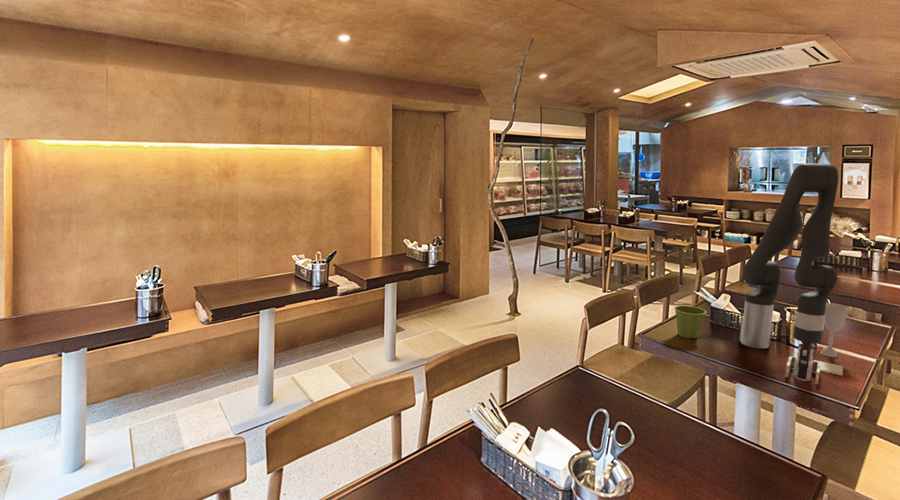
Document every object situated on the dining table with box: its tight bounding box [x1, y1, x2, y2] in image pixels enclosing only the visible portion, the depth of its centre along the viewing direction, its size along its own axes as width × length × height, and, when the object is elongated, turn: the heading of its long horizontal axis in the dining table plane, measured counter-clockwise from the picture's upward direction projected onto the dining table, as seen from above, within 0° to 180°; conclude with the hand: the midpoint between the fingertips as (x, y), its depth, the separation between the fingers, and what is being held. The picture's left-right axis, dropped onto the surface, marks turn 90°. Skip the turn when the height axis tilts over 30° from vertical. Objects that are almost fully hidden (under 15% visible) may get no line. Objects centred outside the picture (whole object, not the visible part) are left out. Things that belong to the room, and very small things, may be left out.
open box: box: [784, 355, 822, 385], centre depth 155 cm, size 10×9×4 cm
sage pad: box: [813, 359, 844, 377], centre depth 160 cm, size 8×8×1 cm
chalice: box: [819, 304, 850, 358], centre depth 170 cm, size 7×7×18 cm
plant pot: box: [673, 305, 707, 339], centre depth 191 cm, size 12×12×11 cm
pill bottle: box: [792, 352, 814, 382], centre depth 152 cm, size 5×5×8 cm
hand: (802, 373), depth 153 cm, fingers open, 7 cm apart
